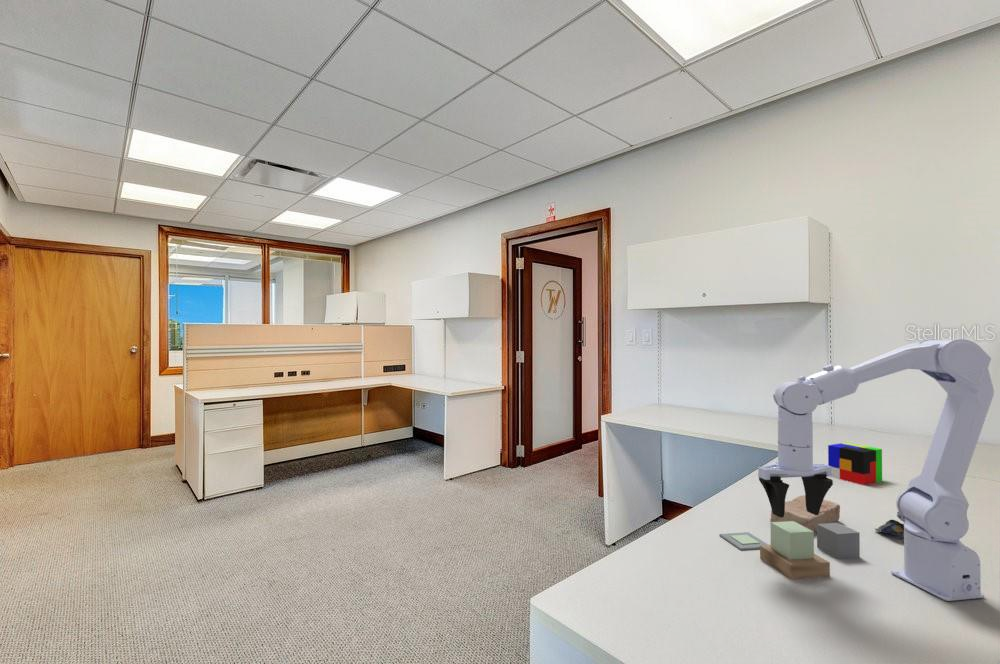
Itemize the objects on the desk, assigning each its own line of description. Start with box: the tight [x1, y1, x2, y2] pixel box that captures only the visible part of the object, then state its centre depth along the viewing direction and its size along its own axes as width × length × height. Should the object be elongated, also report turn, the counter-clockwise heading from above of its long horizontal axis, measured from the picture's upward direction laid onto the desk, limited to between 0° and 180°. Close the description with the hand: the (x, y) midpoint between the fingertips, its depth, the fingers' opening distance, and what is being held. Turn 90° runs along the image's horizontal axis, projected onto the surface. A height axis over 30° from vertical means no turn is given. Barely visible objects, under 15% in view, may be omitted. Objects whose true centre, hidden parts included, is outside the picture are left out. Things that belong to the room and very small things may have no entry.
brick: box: [770, 494, 841, 533], centre depth 109 cm, size 17×8×5 cm, turn 121°
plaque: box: [719, 531, 769, 551], centre depth 98 cm, size 7×7×1 cm
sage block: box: [770, 521, 815, 560], centre depth 88 cm, size 5×5×5 cm
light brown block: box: [759, 544, 831, 580], centre depth 88 cm, size 8×8×3 cm
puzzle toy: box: [827, 442, 883, 486], centre depth 144 cm, size 10×10×10 cm
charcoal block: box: [816, 522, 861, 560], centre depth 94 cm, size 5×5×5 cm
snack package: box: [874, 510, 905, 538], centre depth 101 cm, size 12×7×12 cm
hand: (795, 514), depth 88 cm, fingers open, 7 cm apart
